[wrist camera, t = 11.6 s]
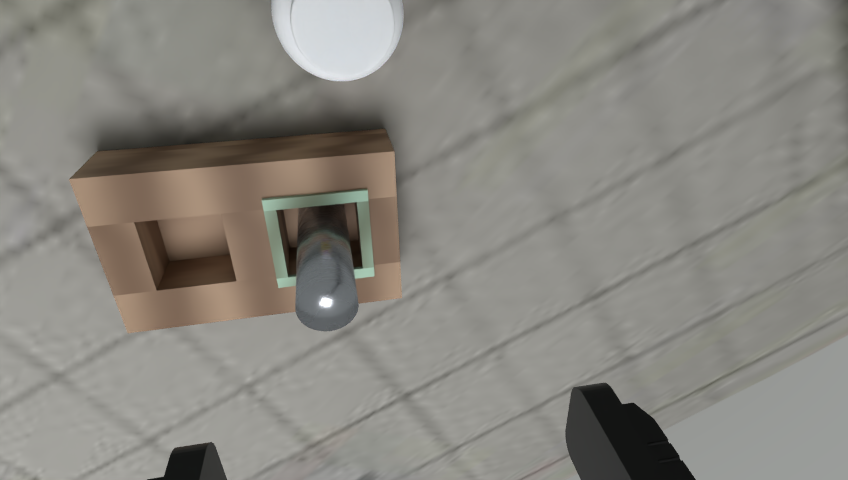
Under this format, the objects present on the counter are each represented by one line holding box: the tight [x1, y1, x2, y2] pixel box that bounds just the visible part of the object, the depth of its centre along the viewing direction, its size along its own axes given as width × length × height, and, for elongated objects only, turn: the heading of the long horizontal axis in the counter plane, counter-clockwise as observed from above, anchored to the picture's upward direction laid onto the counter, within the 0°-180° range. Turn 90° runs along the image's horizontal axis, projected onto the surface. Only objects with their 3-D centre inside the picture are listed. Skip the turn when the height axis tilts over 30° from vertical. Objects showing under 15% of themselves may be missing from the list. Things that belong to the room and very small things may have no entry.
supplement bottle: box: [271, 0, 404, 81], centre depth 29 cm, size 7×7×13 cm
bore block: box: [69, 129, 402, 333], centre depth 39 cm, size 20×12×5 cm, turn 92°
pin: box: [295, 204, 358, 331], centre depth 36 cm, size 4×4×12 cm
